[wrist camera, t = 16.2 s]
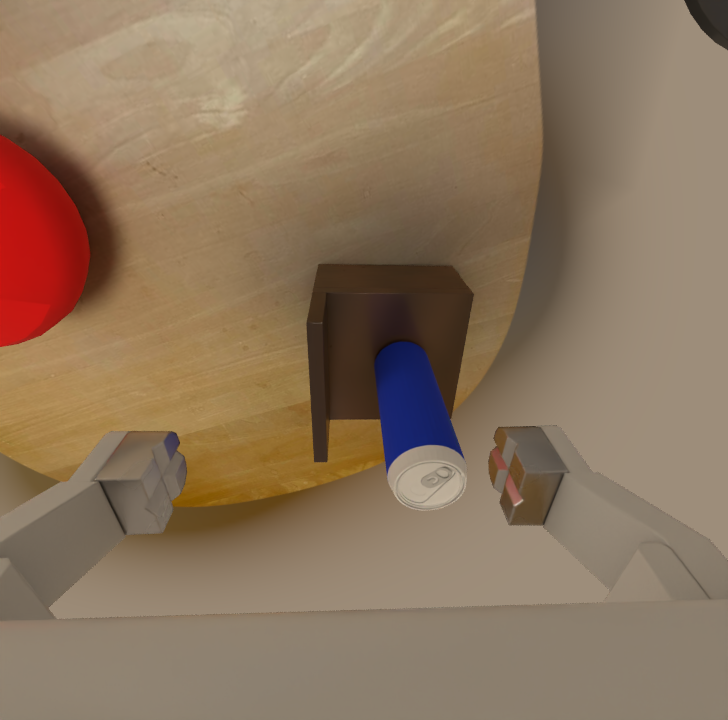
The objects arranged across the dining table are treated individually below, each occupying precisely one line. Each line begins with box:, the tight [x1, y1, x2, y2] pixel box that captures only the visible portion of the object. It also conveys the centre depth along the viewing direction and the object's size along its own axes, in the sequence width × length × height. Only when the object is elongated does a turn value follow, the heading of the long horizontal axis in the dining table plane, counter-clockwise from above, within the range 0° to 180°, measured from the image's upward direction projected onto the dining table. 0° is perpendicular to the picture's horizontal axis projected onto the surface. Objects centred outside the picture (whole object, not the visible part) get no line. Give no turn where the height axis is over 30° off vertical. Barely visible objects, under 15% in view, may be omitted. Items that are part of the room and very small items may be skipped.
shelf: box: [307, 264, 474, 462], centre depth 38 cm, size 14×14×14 cm
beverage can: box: [374, 342, 467, 511], centre depth 31 cm, size 5×5×15 cm
